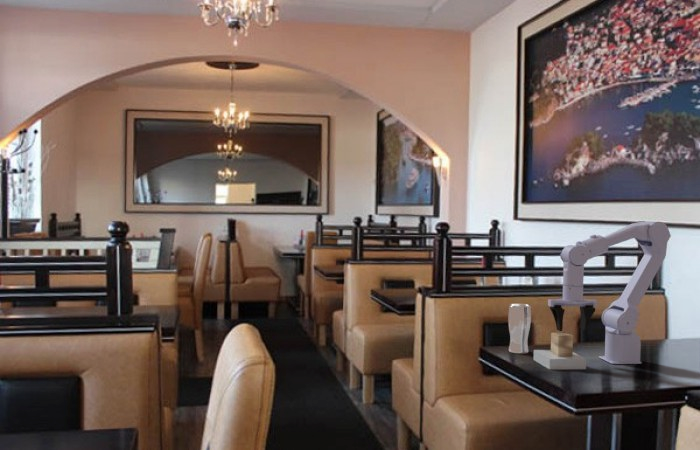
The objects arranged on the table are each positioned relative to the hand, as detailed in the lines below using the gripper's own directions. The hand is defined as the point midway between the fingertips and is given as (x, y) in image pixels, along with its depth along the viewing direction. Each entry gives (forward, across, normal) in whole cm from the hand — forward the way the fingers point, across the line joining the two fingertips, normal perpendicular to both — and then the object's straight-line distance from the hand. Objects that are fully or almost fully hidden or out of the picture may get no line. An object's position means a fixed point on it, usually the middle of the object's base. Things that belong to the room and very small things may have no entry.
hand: (571, 330), depth 183 cm
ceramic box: (+10, -5, -3) cm, 12 cm away
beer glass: (+10, -11, +13) cm, 20 cm away
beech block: (+6, -4, -3) cm, 8 cm away
